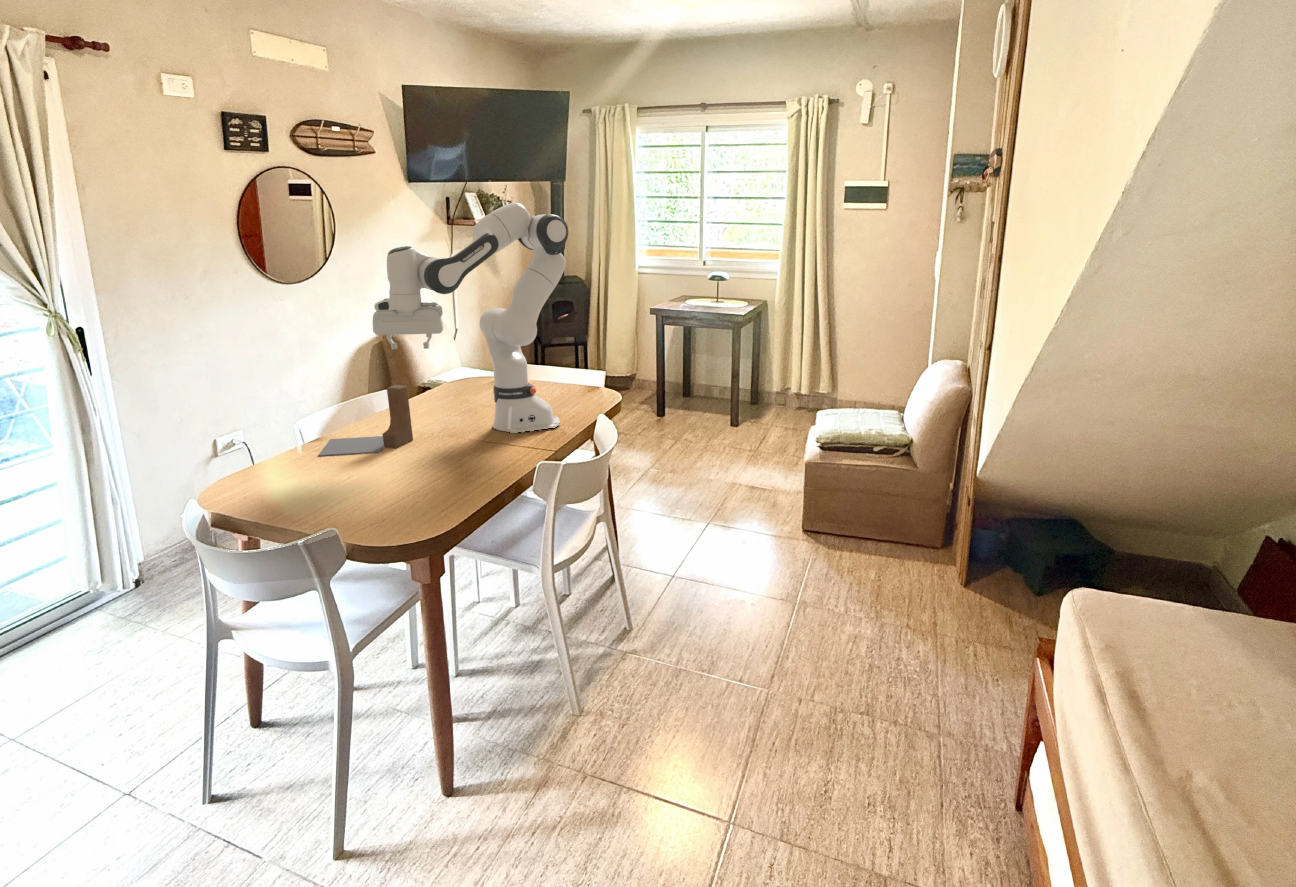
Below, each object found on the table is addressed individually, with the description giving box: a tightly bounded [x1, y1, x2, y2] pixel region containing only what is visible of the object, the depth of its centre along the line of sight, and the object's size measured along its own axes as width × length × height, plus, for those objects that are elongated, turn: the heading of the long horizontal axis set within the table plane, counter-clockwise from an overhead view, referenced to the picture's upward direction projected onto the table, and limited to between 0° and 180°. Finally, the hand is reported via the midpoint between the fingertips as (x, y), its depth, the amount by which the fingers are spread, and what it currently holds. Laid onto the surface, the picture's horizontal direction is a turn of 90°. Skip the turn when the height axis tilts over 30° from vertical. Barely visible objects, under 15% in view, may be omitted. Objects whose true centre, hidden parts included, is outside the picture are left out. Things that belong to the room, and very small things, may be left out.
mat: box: [317, 435, 385, 457], centre depth 231 cm, size 18×16×1 cm
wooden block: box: [382, 384, 414, 449], centre depth 231 cm, size 9×4×18 cm, turn 160°
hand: (410, 348), depth 226 cm, fingers open, 8 cm apart
